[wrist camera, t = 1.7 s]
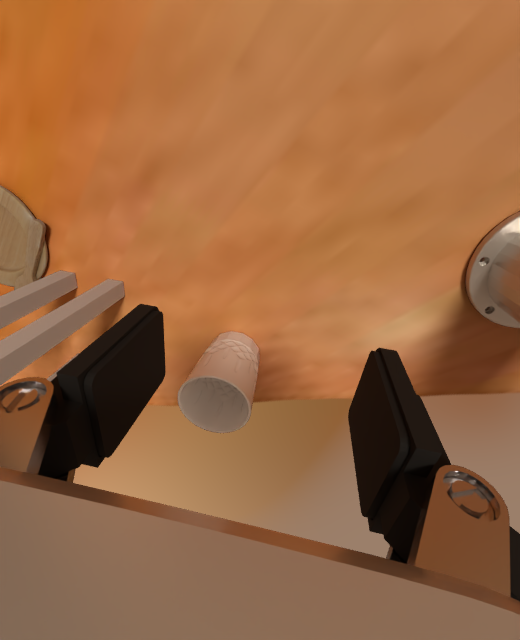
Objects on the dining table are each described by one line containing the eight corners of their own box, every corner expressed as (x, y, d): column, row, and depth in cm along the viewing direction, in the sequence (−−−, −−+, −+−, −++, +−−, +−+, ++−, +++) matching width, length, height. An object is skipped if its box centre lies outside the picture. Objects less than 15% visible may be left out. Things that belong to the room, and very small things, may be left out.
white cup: (276, 348, 38) (265, 402, 30) (245, 385, 42) (227, 443, 33) (223, 315, 37) (196, 362, 29) (197, 356, 41) (166, 409, 32)
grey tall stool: (208, 296, 36) (-598, 1341, 4) (204, 389, 44) (-101, 1033, 11) (56, 269, 38) (-1381, 877, 6) (77, 363, 45) (-508, 866, 13)
